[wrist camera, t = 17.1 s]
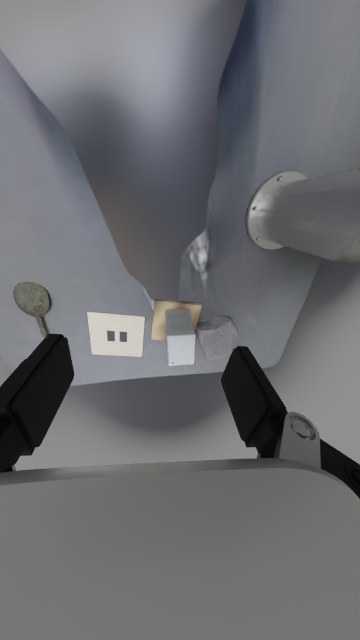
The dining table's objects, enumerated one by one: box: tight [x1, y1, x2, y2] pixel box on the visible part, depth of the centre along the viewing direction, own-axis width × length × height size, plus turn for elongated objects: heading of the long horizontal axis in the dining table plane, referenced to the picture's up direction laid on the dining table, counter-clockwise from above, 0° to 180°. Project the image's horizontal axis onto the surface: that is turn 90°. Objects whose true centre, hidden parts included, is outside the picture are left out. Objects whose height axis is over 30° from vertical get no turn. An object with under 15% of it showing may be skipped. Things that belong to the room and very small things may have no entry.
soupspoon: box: [14, 282, 49, 339], centre depth 42 cm, size 22×3×7 cm
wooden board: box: [151, 299, 202, 340], centre depth 45 cm, size 11×11×1 cm
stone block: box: [196, 316, 238, 361], centre depth 48 cm, size 12×5×10 cm
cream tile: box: [87, 311, 145, 357], centre depth 46 cm, size 13×13×1 cm
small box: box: [165, 309, 196, 366], centre depth 40 cm, size 8×6×10 cm
